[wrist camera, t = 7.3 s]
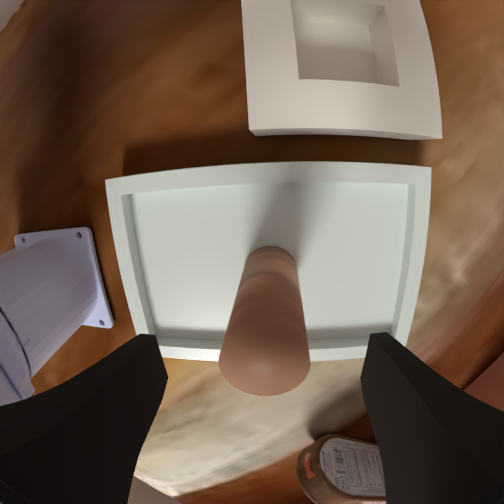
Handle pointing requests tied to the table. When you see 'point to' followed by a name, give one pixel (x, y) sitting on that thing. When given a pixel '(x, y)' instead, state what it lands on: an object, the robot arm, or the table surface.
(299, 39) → the cup block
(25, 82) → the table surface
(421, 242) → the tray
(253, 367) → the pin
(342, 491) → the tin
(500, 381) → the house
